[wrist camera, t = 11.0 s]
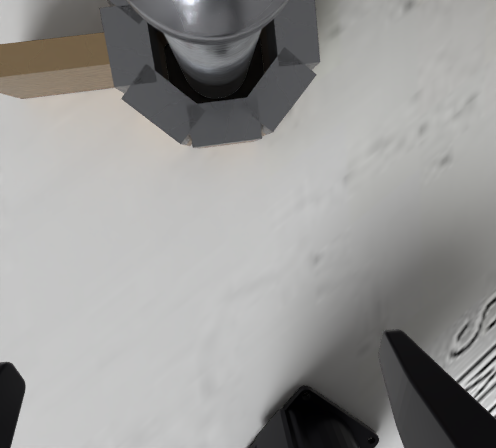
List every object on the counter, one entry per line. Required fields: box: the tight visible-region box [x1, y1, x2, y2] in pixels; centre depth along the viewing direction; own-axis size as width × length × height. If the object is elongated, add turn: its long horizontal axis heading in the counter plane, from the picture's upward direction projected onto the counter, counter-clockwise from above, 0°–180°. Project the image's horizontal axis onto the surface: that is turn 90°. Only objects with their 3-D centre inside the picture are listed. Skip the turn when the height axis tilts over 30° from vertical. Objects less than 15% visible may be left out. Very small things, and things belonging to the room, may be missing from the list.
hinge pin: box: [127, 0, 288, 99], centre depth 14 cm, size 4×4×13 cm
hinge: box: [0, 0, 320, 148], centre depth 18 cm, size 12×15×5 cm
